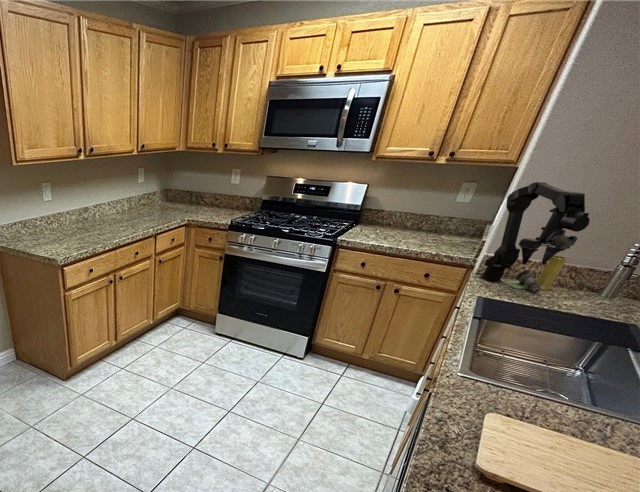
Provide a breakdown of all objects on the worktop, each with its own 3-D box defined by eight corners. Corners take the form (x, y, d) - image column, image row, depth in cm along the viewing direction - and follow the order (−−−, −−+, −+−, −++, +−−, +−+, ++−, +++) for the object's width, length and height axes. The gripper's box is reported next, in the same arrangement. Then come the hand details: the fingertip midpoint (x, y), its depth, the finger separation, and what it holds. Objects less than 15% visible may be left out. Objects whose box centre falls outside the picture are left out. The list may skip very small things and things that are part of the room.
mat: (502, 283, 195) (502, 281, 194) (517, 282, 196) (518, 280, 196) (518, 289, 188) (519, 287, 188) (534, 288, 190) (535, 286, 189)
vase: (531, 284, 194) (550, 254, 186) (548, 287, 191) (567, 256, 183) (533, 288, 190) (551, 257, 182) (550, 291, 187) (569, 260, 179)
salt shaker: (533, 270, 188) (551, 287, 181) (521, 280, 193) (538, 298, 186) (523, 269, 187) (540, 286, 180) (511, 279, 192) (527, 296, 185)
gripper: (554, 230, 160) (531, 270, 169) (595, 230, 162) (571, 269, 171) (528, 224, 169) (507, 261, 178) (567, 224, 171) (545, 261, 180)
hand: (533, 264), depth 176 cm, fingers open, 9 cm apart
